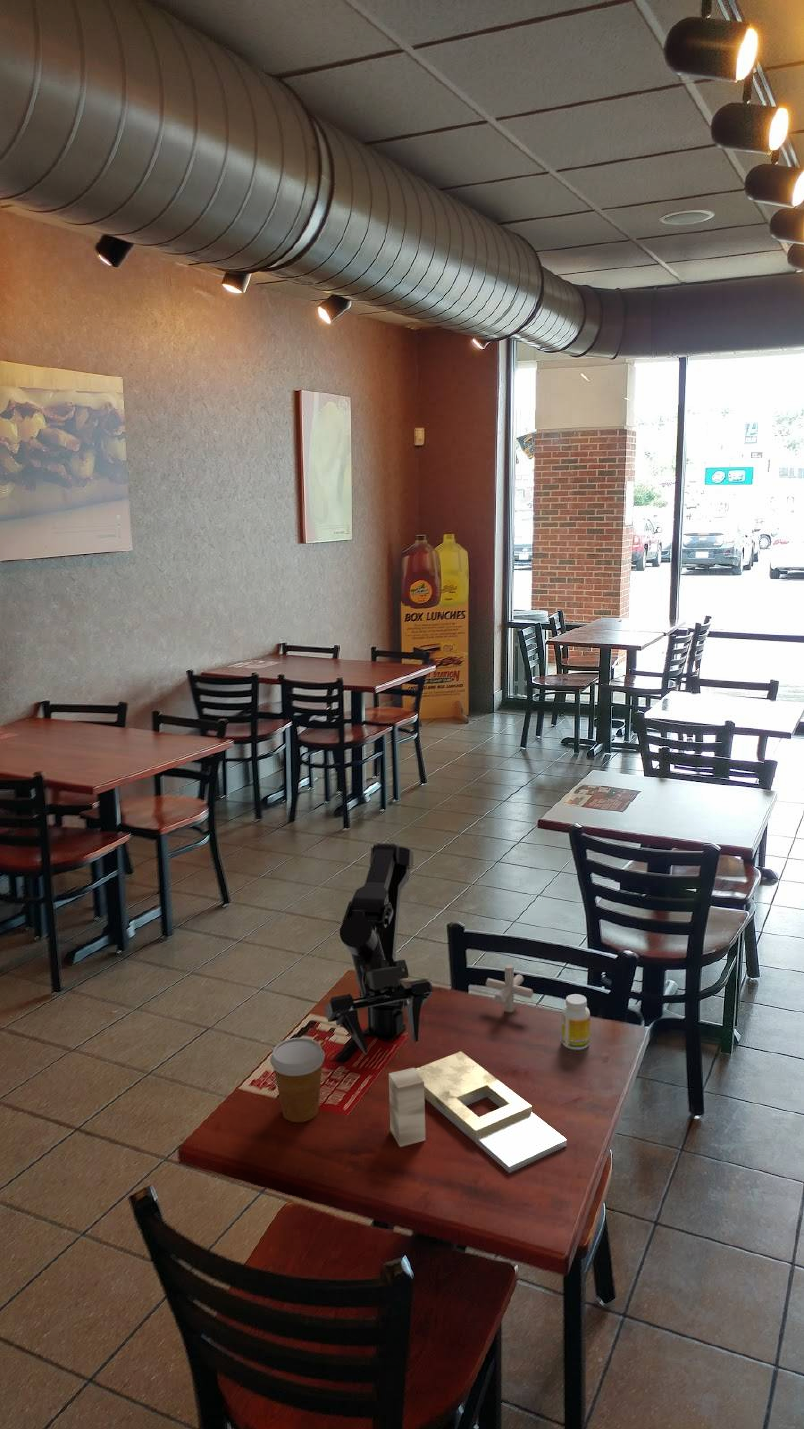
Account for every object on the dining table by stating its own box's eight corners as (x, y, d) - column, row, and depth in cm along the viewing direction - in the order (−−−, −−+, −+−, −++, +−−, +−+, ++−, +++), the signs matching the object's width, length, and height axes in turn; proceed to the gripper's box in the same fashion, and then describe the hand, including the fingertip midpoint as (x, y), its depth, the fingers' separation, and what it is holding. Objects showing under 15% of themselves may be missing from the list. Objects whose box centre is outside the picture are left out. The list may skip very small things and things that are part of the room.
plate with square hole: (408, 1083, 183) (407, 1071, 182) (461, 1062, 189) (461, 1051, 189) (509, 1173, 158) (509, 1159, 158) (566, 1145, 164) (566, 1132, 164)
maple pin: (390, 1131, 169) (388, 1073, 167) (415, 1124, 171) (414, 1067, 169) (399, 1147, 165) (398, 1088, 163) (425, 1140, 167) (424, 1081, 164)
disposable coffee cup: (264, 1122, 173) (260, 1060, 170) (288, 1091, 182) (285, 1032, 179) (313, 1132, 170) (310, 1069, 167) (336, 1101, 178) (333, 1040, 176)
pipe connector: (520, 1027, 201) (520, 981, 199) (477, 1014, 206) (476, 970, 204) (541, 1005, 209) (541, 961, 207) (498, 994, 215) (498, 951, 212)
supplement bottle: (556, 1042, 195) (556, 998, 193) (574, 1033, 198) (574, 989, 196) (577, 1054, 191) (577, 1008, 189) (595, 1043, 194) (595, 999, 192)
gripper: (327, 955, 170) (348, 1046, 162) (428, 936, 176) (453, 1023, 168) (317, 977, 179) (336, 1064, 171) (413, 959, 185) (437, 1042, 177)
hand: (391, 1048), depth 172 cm, fingers open, 9 cm apart
